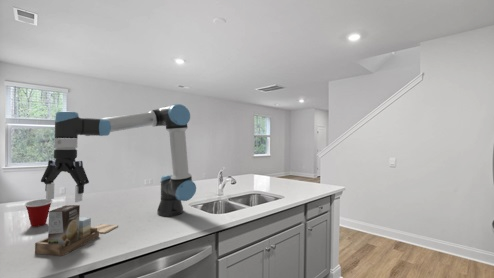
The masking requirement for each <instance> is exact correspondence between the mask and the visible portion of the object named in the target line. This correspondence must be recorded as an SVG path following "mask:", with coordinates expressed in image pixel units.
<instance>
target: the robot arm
mask: <svg viewBox="0 0 494 278" xmlns="http://www.w3.org/2000/svg"><path fill="white" fill-rule="evenodd" d="M190 120H191V112H190V110H189V109H188V108H187V107H186V106H185V105H183V104H180V103H179V104H178V103H176V104H175V103H174V104H170V105H166V106H163V107H160V108H156V109H150V110H149V111H148V112H140V113H139V112H138V113H132V114H125V115H117V116H109V117H103V118H92V117H91V118H88V117H81V116H79V113H78V112H75V111H69V110H59V111H57V112H56V113H55V119H54V144H53V145H54V151H53V158H54V159H50V160H48V162H47V166H46V168H45V171H44V173H43V175H42V177H41V179H40V182H41V183H44V185H45V188H44V189H45V191H44V192H45V199H46V200H53V199H55V182H54V181H55V180H56V179H57V178H58V176H59V175H60V174H61V173H62V172H64V173H68V174H70V176H71V177H72V179H73V180H74V183H76V185H75V192H74V195H75V196H74V203H79V202H83V194H84V192H85V185H87V184H89V183H90V181H89V178H88V176H87V173H86V170H85V168H84V165H83V164H84V163H83V161H82V160H77V161H76V158H78V150H77V148H78V136H79V135H80V136H85V137H90V136H92V137H93V136H99V137H105V136H109V135H110V133H113V132H119V131H125V130H132V129H139V128H143V127H144V128H145V127H149V126H152V127H165V130H166V131H167V132H168V134H169V143H170V155H171V165H172V166H171V167H172V174H169V175H163V176H162V177H161V178H160V202H159V205H158V207H157V213H156V214H157V215H158V216H159V217H160V216H161V217H174V216H178V215H181V214H183V213H184V206H183V203H182V202H187V201H189V200H191V199H192V198H193V197H194V195H196V191H197V185H196V183H195V182H194V181H193V176H192V174H191V173H190V171H189V164H188V163H189V161H188V150H187V149H188V148H187V140H186V139H187V137H186V130H187V129H188V123H189V122H190Z"/></svg>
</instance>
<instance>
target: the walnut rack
mask: <svg viewBox="0 0 494 278" xmlns="http://www.w3.org/2000/svg"><path fill="white" fill-rule="evenodd" d="M94 227H95V226H91V234H90V235H88V236H86V237H84V238H82V239H80V240H78V241H76V242H74V243H71V244H69V245H67V246H65V247H63V248H62V244H55V243H48V237H46V238H44V239H41V240H39V241H37V242H35V244H34V254H37V255H38V254H39V255H49V256H59V257H63V256H64V255H66V254H68V253H71V252H72V251H74V250H76V249H78V248H79V247H82V246H85V244H88V243H90V242H92V241H93V240H95V239H97V238H99V237H100V233H99V231H97V228H94Z"/></svg>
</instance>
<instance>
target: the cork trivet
mask: <svg viewBox="0 0 494 278" xmlns="http://www.w3.org/2000/svg"><path fill="white" fill-rule="evenodd" d="M93 227H94V228H97V231H99V234H107V233H108V232H110V231H112V230H114V229H116V228H118V227H119V225H116V224H103V223H100V224H98V225H96V226H93Z"/></svg>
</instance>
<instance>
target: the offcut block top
mask: <svg viewBox="0 0 494 278" xmlns="http://www.w3.org/2000/svg"><path fill="white" fill-rule="evenodd" d="M91 221H92V218H91V217H82V216H79V228H84V227H86V226H89V225H91V226H92V222H91Z"/></svg>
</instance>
